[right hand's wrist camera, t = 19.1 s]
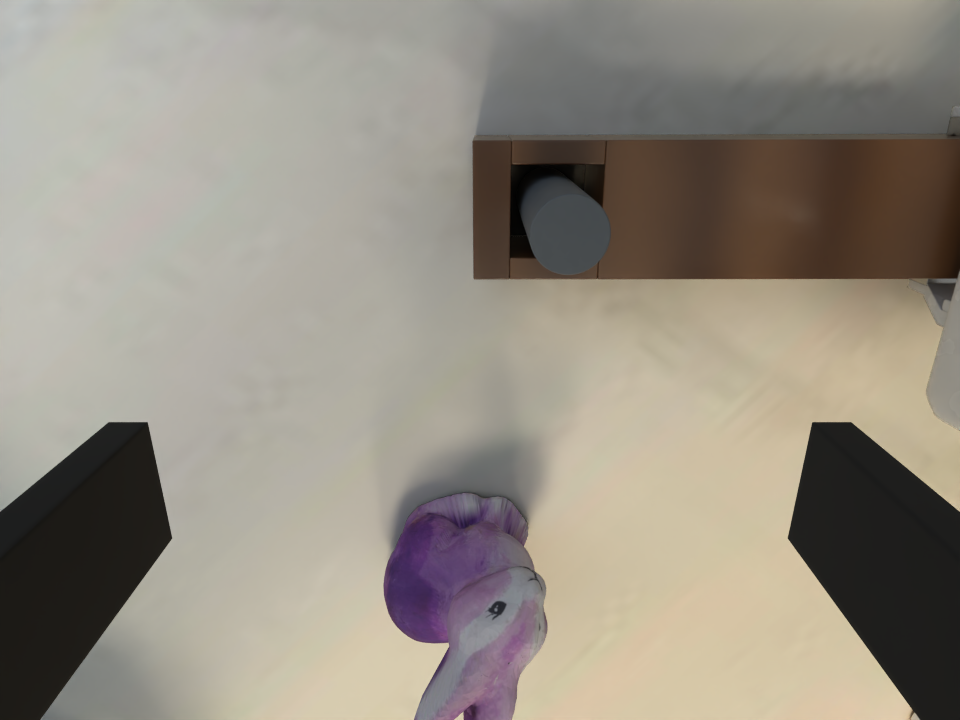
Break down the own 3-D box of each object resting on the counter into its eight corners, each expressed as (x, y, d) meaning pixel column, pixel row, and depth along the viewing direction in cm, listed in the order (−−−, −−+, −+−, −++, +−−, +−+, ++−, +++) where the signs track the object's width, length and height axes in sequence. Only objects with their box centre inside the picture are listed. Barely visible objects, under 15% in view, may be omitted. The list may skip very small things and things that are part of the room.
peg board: (986, 133, 35) (1082, 138, 29) (953, 253, 37) (1036, 278, 31) (474, 135, 35) (472, 140, 29) (475, 254, 37) (473, 279, 32)
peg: (570, 224, 37) (608, 275, 25) (515, 224, 37) (528, 275, 25) (573, 167, 35) (613, 193, 24) (516, 167, 35) (530, 193, 24)
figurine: (546, 486, 43) (576, 667, 29) (510, 601, 46) (521, 812, 33) (409, 458, 42) (372, 631, 28) (384, 578, 46) (339, 783, 32)
